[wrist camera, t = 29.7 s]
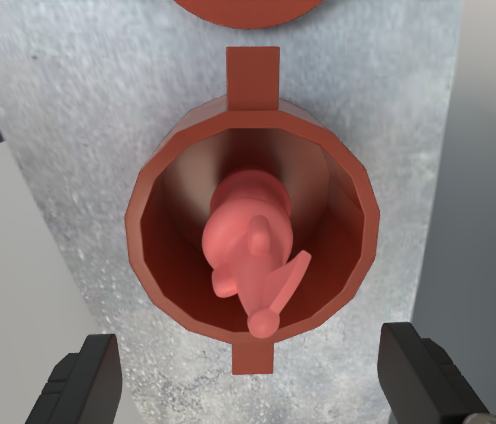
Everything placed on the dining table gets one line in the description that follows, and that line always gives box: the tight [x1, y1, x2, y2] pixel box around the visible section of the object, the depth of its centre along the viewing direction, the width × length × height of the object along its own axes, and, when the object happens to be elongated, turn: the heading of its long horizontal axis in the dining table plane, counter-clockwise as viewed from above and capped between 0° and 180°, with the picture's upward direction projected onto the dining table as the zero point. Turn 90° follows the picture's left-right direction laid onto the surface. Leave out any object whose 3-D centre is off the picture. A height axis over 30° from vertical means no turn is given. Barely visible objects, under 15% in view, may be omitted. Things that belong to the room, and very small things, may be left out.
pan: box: [124, 47, 380, 375], centre depth 26 cm, size 13×18×8 cm
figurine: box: [202, 165, 311, 338], centre depth 22 cm, size 5×5×15 cm
